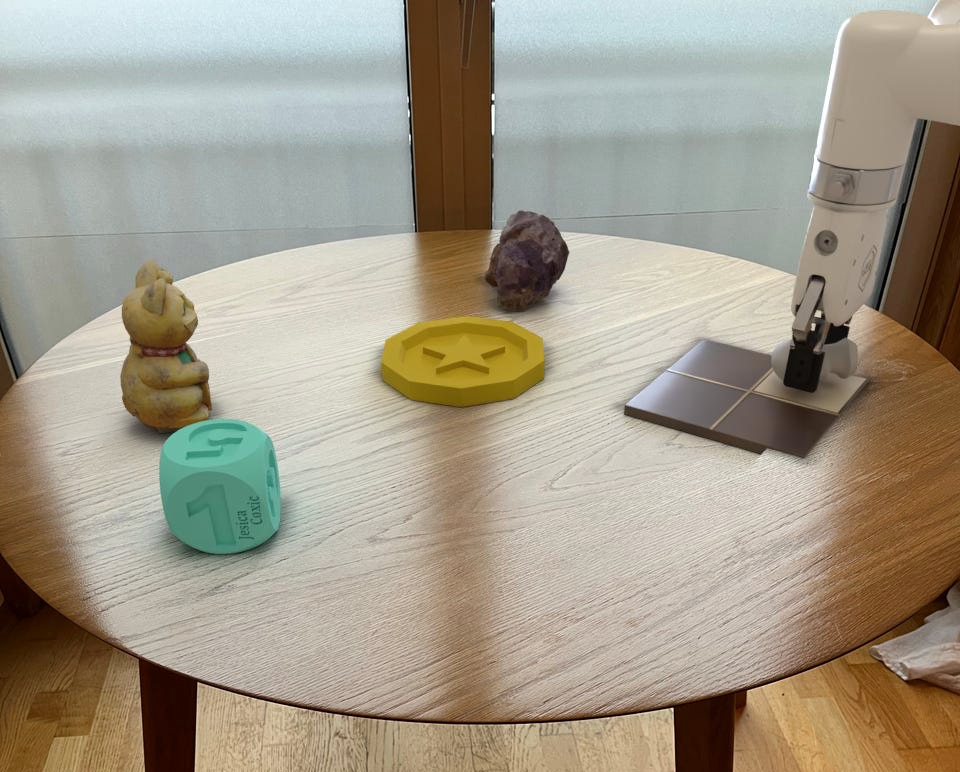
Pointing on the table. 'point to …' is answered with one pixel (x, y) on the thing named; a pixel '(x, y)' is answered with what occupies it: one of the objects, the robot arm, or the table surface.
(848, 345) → the smooth white sculpture
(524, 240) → the rock
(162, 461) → the decorative dice
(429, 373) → the decorative disc
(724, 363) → the board
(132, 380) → the decorative figurine
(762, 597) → the table surface
